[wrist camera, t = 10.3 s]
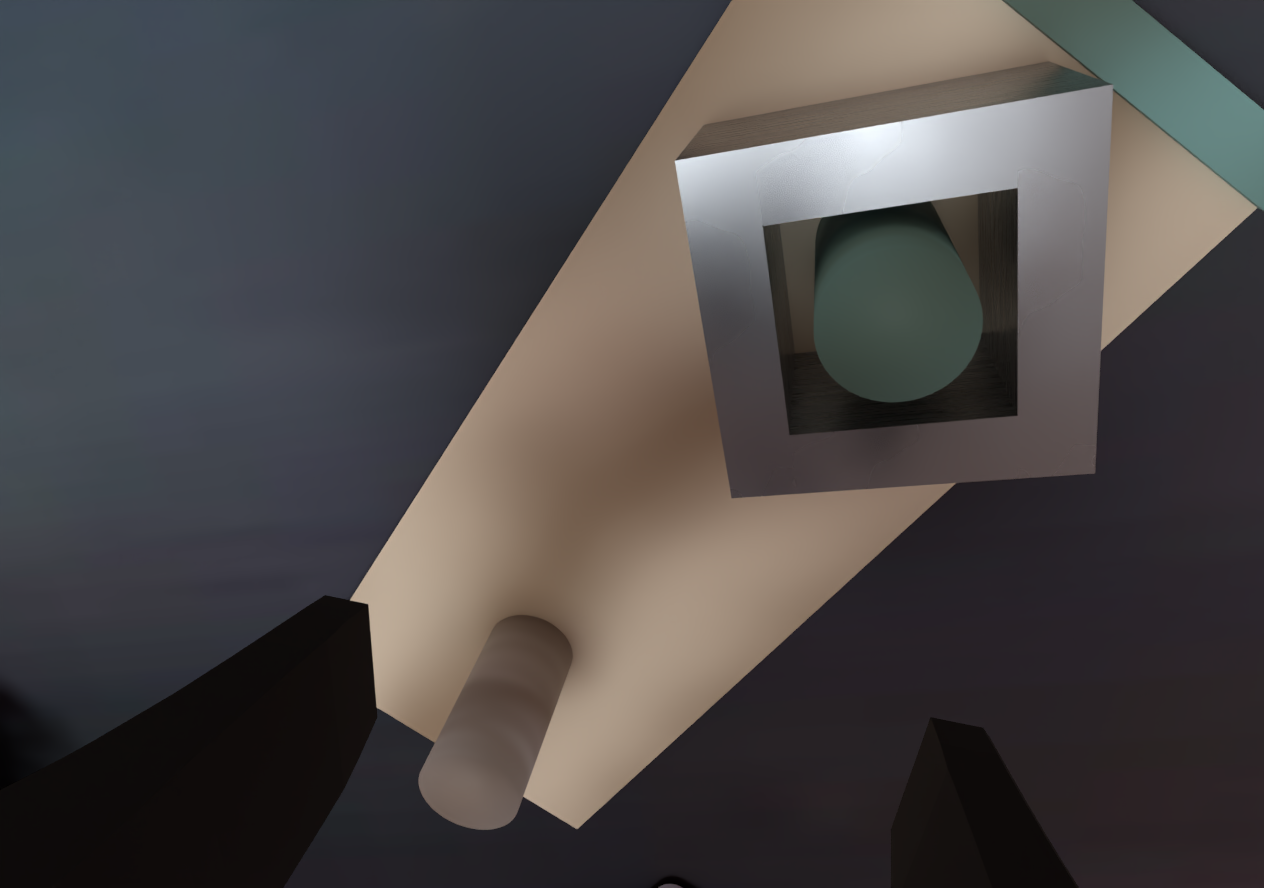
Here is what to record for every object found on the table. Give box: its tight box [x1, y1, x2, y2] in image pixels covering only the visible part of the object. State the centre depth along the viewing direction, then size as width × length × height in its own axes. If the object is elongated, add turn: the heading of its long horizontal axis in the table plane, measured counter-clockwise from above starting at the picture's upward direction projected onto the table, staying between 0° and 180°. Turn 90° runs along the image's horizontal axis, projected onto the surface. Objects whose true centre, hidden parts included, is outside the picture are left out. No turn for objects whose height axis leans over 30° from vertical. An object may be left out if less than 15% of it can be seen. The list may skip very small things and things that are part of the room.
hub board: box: [350, 0, 1264, 830], centre depth 17 cm, size 9×23×5 cm, turn 147°
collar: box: [675, 61, 1113, 498], centre depth 14 cm, size 6×6×4 cm
